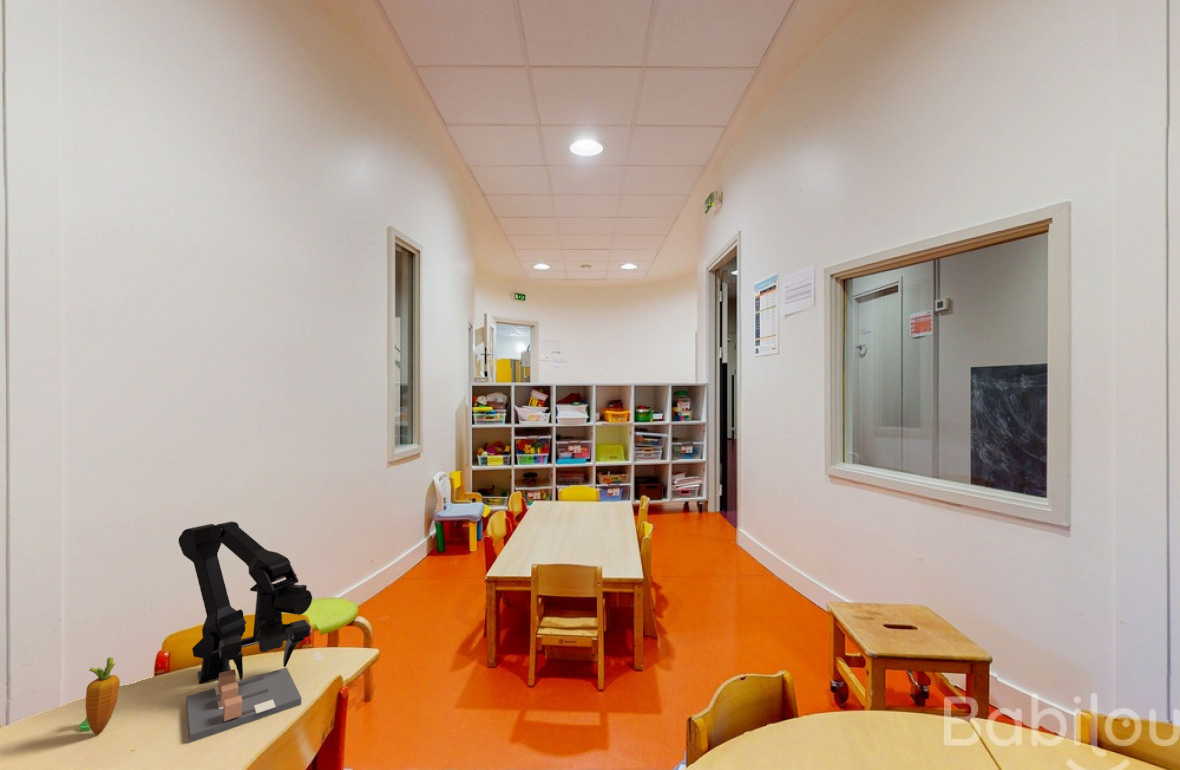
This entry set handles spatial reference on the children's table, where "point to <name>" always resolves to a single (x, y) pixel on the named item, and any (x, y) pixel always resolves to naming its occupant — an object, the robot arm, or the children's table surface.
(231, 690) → the slider middle
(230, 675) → the slider far
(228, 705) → the slider near
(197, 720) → the switch console
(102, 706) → the carrot
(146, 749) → the children's table surface
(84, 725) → the game piece
